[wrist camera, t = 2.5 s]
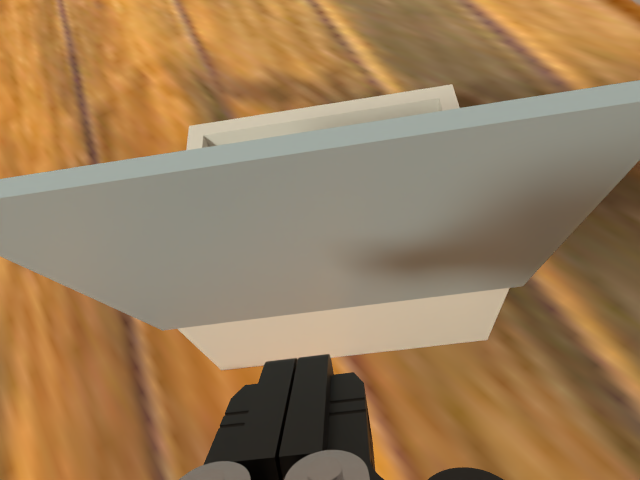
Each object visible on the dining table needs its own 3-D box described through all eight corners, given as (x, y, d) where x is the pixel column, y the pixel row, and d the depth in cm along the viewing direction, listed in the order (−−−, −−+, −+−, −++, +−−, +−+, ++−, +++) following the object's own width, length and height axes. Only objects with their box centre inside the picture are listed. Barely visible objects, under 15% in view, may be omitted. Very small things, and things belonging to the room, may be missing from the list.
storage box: (442, 171, 44) (452, 84, 35) (487, 339, 35) (514, 277, 27) (228, 202, 46) (189, 126, 37) (221, 370, 37) (168, 320, 29)
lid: (692, 72, 12) (702, 92, 11) (519, 275, 27) (522, 286, 27) (-91, 193, 13) (-96, 212, 13) (162, 320, 28) (162, 330, 28)
